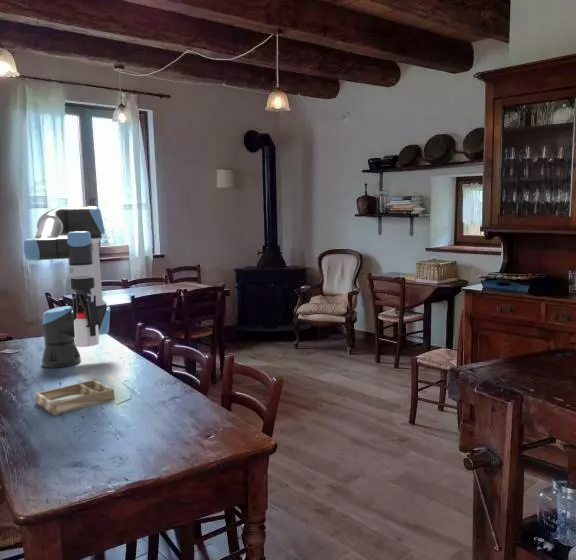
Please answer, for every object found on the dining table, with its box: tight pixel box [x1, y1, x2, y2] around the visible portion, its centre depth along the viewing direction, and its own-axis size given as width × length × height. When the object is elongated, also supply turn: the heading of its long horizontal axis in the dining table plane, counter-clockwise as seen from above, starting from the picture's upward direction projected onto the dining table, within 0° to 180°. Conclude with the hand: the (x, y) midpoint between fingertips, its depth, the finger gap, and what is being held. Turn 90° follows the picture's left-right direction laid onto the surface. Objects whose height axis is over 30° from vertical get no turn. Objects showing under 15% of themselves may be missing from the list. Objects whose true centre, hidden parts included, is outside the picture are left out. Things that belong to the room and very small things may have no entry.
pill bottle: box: [74, 311, 100, 348], centre depth 193 cm, size 8×8×11 cm
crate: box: [34, 379, 116, 416], centre depth 188 cm, size 16×20×4 cm
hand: (87, 343), depth 194 cm, fingers closed on pill bottle, 8 cm apart
